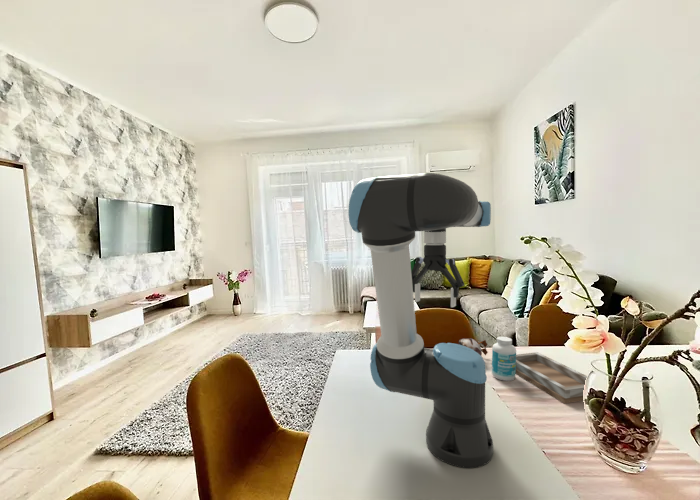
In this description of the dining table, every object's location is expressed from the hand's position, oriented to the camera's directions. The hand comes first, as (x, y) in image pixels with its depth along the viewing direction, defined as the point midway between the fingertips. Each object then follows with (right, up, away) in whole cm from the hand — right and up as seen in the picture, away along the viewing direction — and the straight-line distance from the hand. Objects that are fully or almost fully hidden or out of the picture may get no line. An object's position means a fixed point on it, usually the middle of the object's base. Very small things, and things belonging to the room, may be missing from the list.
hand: (434, 303), depth 115 cm
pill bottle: (+23, -25, -3) cm, 34 cm away
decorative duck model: (+16, -24, +13) cm, 31 cm away
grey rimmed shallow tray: (+37, -25, -6) cm, 45 cm away
